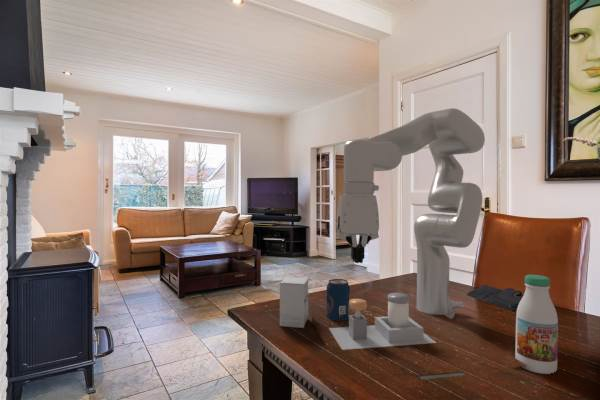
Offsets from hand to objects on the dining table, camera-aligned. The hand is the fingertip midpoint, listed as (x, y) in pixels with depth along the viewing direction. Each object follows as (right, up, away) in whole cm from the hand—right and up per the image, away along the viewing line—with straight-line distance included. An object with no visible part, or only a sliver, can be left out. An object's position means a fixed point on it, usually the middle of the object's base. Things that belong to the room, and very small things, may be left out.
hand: (357, 261), depth 89 cm
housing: (+6, -21, +2) cm, 22 cm away
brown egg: (0, -16, +1) cm, 16 cm away
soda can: (-3, -21, +15) cm, 26 cm away
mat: (+14, -21, -11) cm, 28 cm away
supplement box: (-16, -21, +14) cm, 30 cm away
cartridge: (+11, -19, +2) cm, 22 cm away
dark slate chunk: (+58, -21, +35) cm, 71 cm away
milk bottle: (+38, -21, -11) cm, 45 cm away
